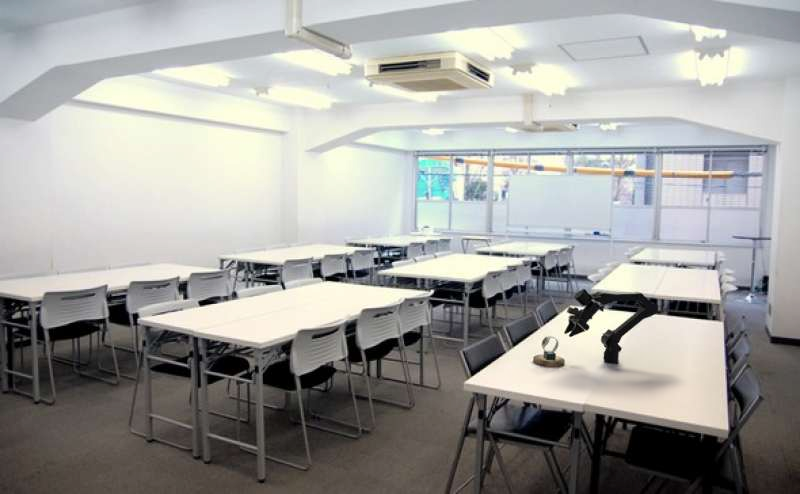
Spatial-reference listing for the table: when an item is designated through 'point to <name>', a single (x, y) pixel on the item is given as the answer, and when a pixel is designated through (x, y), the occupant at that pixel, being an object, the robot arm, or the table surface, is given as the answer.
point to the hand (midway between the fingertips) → (567, 334)
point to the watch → (549, 354)
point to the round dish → (548, 361)
